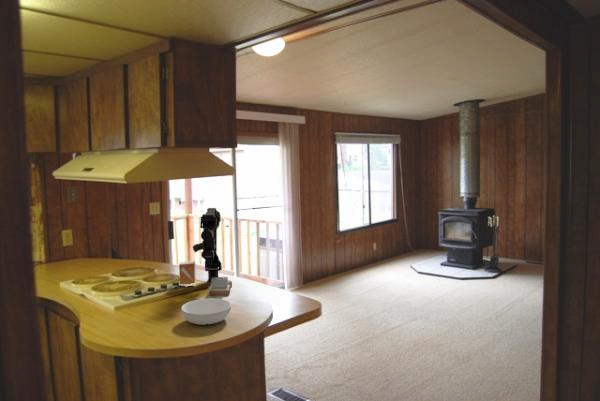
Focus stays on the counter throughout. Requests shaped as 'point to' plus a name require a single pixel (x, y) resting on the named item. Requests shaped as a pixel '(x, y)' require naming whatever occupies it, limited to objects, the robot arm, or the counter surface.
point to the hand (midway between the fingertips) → (209, 266)
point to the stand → (219, 291)
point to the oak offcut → (230, 283)
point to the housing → (219, 282)
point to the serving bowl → (206, 311)
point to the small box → (187, 272)
